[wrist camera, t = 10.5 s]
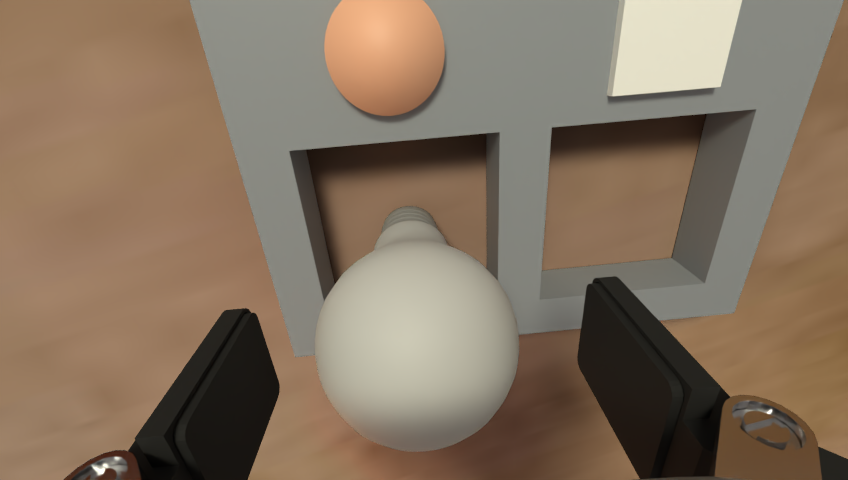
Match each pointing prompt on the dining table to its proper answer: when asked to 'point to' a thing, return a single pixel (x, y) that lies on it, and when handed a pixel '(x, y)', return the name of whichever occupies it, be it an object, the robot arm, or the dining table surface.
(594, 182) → the dining table surface
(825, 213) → the dining table surface
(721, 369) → the dining table surface
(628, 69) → the socket board
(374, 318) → the lightbulb
